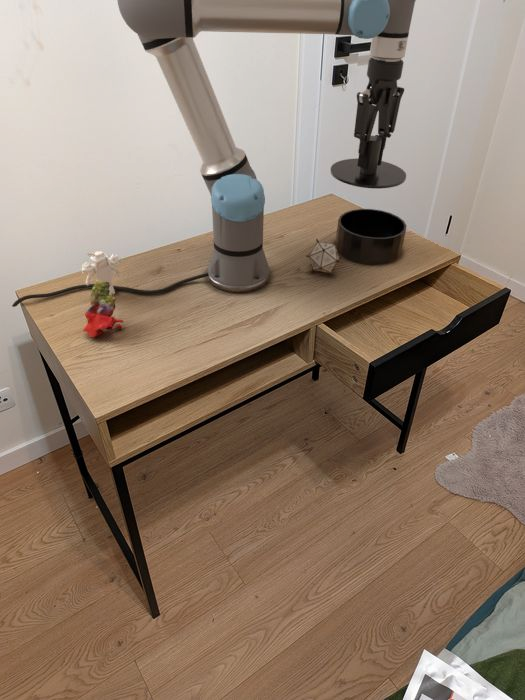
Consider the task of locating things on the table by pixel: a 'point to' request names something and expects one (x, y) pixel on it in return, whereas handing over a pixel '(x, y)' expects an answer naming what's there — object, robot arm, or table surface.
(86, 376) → the table surface
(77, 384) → the table surface
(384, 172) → the pan lid
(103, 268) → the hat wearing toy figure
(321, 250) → the game die
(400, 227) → the pan
